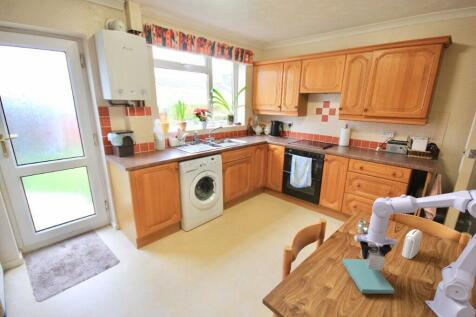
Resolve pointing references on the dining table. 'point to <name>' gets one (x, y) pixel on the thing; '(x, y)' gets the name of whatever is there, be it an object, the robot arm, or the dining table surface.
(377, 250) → the housing
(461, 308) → the robot arm
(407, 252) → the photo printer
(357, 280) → the teal flat slab
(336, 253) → the dining table surface
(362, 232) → the valve
